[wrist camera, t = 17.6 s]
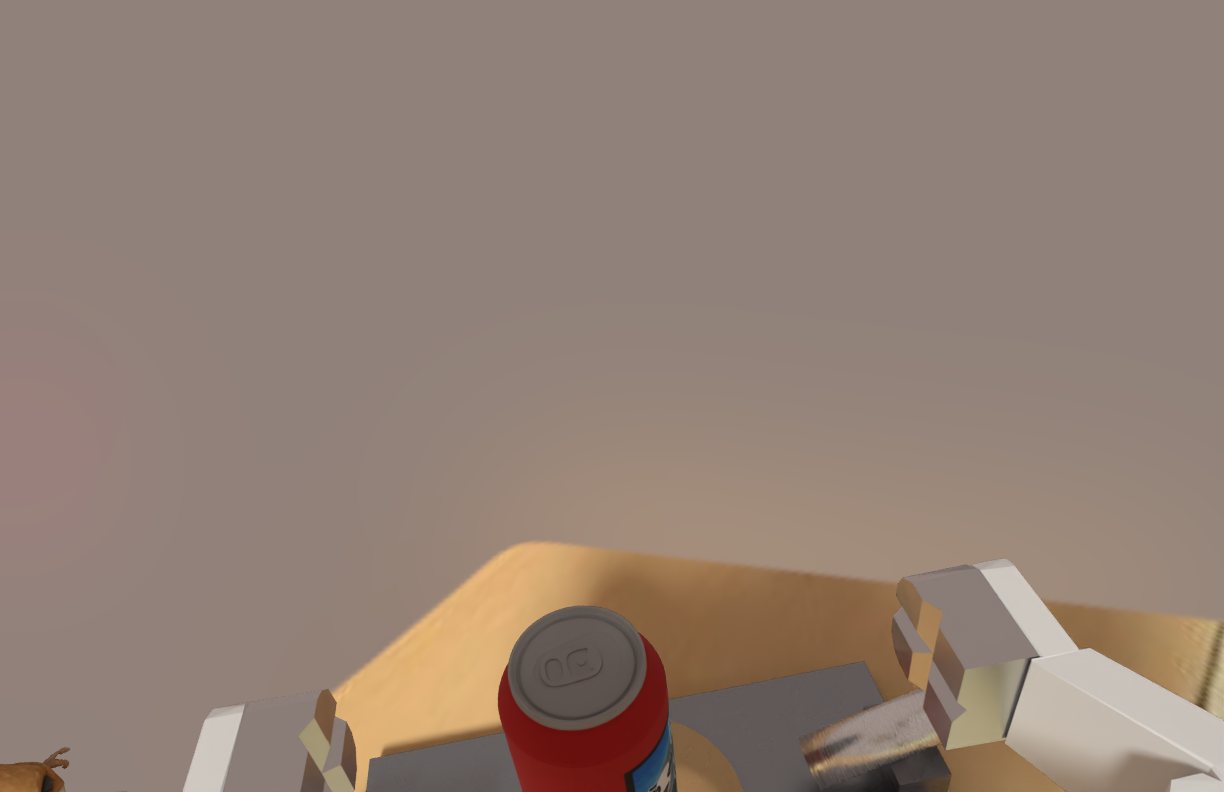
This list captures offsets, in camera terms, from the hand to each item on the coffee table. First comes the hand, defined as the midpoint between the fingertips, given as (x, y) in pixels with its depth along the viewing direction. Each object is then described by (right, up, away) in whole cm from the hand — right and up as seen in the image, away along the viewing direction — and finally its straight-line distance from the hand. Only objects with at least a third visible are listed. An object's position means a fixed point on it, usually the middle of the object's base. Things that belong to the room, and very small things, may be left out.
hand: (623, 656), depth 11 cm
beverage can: (0, -16, +26) cm, 31 cm away
